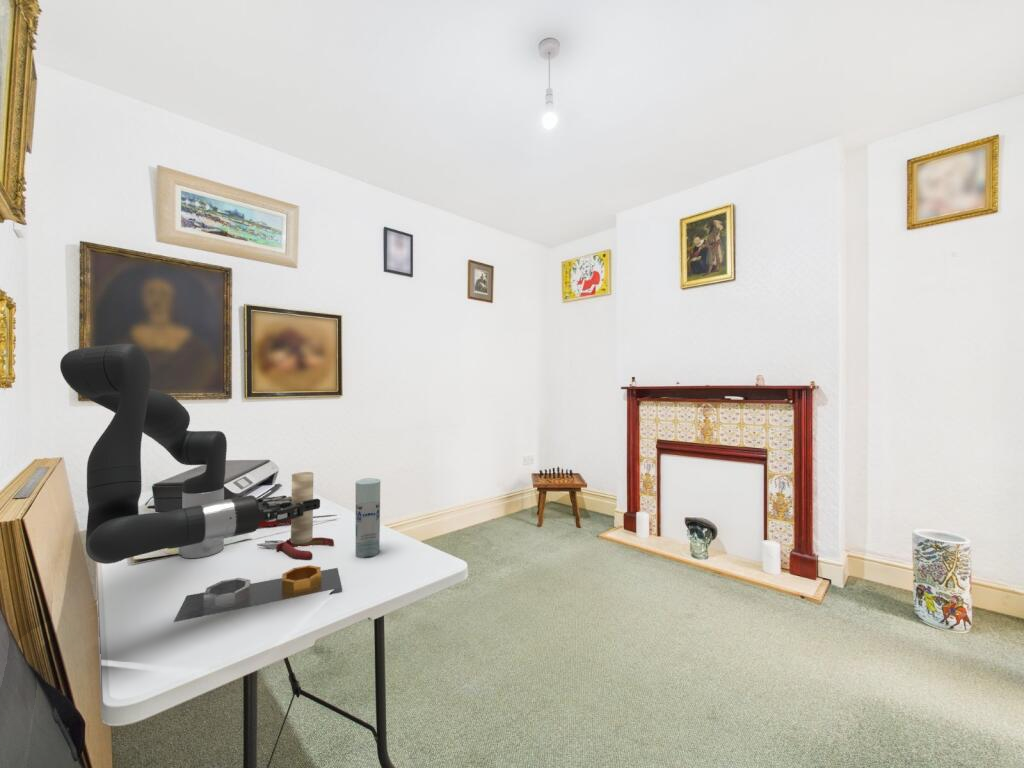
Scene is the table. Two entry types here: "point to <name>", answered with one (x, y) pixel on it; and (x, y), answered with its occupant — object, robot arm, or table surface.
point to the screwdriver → (272, 523)
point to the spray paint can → (367, 517)
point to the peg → (303, 524)
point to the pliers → (289, 547)
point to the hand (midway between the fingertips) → (314, 501)
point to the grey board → (259, 591)
